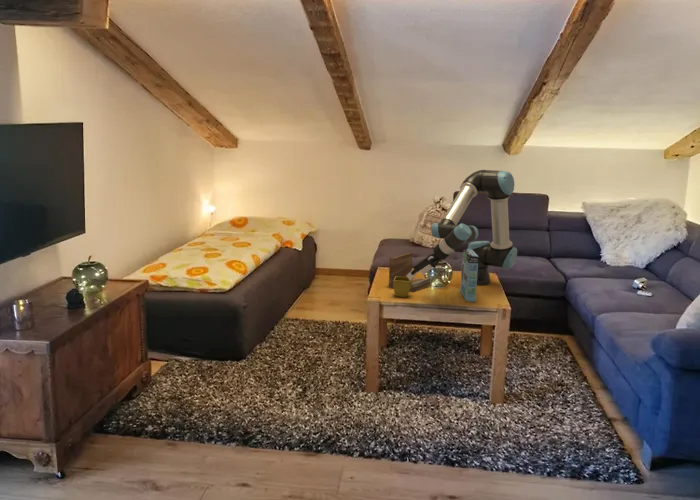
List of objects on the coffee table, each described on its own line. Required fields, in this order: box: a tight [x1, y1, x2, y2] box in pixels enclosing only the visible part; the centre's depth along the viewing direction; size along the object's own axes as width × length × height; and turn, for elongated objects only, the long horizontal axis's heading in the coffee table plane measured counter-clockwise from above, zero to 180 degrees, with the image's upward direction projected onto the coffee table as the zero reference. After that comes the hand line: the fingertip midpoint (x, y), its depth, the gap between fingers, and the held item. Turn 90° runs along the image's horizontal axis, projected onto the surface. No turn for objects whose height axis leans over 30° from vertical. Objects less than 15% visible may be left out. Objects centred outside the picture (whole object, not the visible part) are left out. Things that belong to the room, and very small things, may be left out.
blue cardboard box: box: [459, 248, 479, 303], centre depth 309 cm, size 20×5×23 cm, turn 178°
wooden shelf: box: [388, 252, 430, 293], centre depth 328 cm, size 15×20×16 cm
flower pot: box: [393, 276, 412, 298], centre depth 309 cm, size 9×9×9 cm
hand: (415, 275), depth 302 cm, fingers open, 13 cm apart
